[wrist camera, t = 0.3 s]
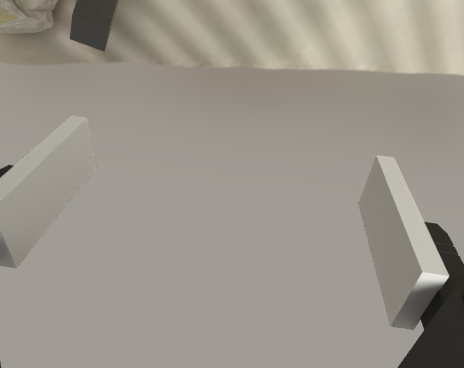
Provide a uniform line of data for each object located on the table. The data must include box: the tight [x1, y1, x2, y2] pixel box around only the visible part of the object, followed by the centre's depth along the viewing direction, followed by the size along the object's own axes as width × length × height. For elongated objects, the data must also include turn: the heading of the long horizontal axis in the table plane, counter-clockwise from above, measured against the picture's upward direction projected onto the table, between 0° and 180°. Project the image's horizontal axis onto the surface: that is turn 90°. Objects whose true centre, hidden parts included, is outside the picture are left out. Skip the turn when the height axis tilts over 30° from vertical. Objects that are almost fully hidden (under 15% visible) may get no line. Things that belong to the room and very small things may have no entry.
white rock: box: [0, 0, 58, 34], centre depth 45 cm, size 12×8×10 cm
